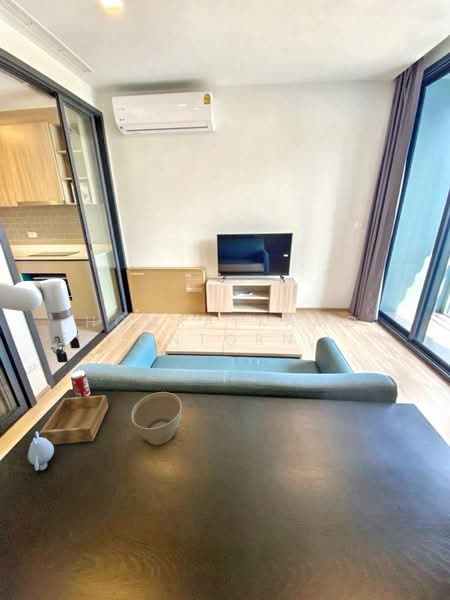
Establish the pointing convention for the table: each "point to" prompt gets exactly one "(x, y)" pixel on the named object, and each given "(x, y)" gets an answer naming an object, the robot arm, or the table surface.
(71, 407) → the wooden tray
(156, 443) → the planter bowl
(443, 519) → the table surface
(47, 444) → the toy figure
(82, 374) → the soda can
